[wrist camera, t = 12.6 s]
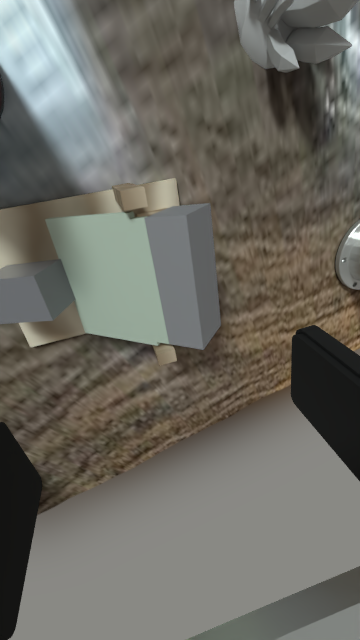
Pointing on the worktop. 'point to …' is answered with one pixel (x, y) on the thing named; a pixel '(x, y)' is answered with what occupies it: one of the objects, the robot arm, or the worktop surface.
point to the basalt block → (34, 291)
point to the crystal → (290, 31)
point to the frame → (36, 245)
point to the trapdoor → (143, 274)
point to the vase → (1, 96)
